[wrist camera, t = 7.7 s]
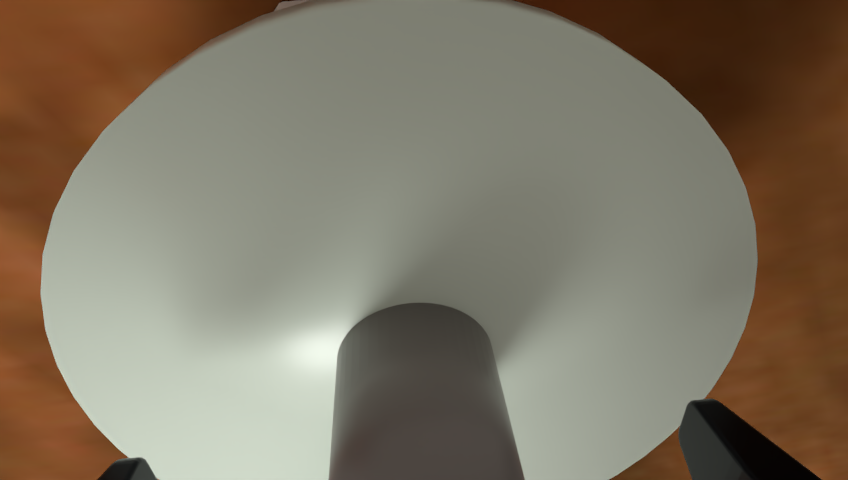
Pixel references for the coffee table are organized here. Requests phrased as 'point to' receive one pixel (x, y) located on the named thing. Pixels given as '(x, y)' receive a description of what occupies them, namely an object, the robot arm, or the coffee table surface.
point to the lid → (399, 252)
